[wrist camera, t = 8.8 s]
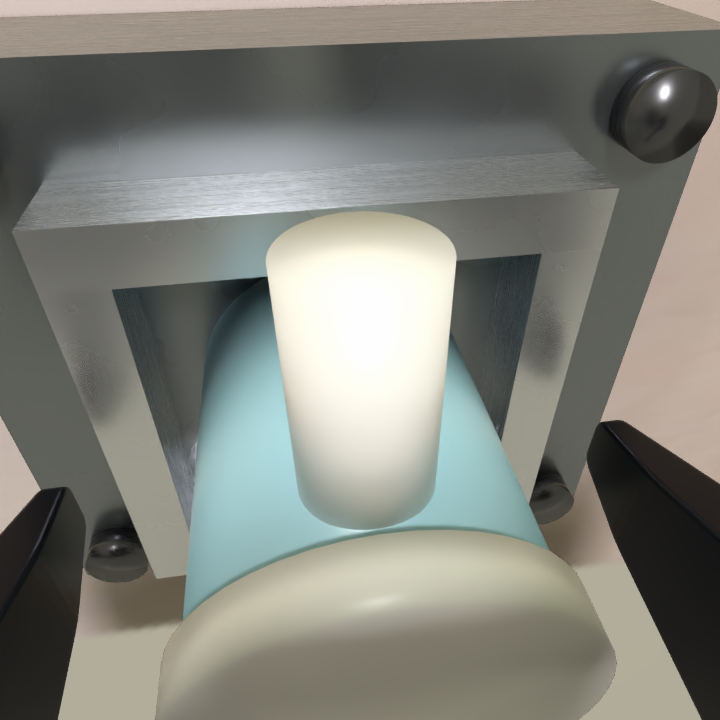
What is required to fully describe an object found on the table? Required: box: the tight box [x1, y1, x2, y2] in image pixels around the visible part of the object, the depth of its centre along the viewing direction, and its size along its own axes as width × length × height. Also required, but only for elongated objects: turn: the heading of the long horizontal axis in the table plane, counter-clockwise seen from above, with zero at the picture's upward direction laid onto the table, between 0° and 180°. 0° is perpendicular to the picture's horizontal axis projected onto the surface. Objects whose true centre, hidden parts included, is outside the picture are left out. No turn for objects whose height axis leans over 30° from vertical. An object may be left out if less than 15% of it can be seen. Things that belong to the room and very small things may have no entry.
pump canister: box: [155, 211, 617, 720], centre depth 9 cm, size 5×8×7 cm
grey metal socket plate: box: [0, 0, 720, 582], centre depth 13 cm, size 13×12×4 cm
